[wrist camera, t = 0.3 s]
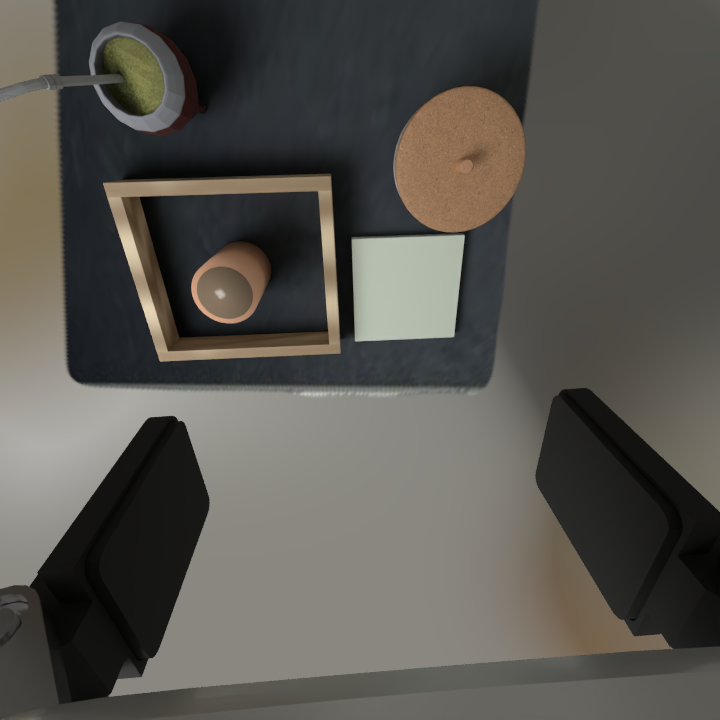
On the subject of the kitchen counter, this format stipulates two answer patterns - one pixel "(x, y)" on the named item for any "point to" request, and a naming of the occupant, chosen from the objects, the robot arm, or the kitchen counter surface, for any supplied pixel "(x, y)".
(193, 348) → the frame
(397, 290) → the sage tile
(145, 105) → the mate gourd
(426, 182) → the lidded jar
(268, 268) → the terracotta pot
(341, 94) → the kitchen counter surface
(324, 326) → the kitchen counter surface
